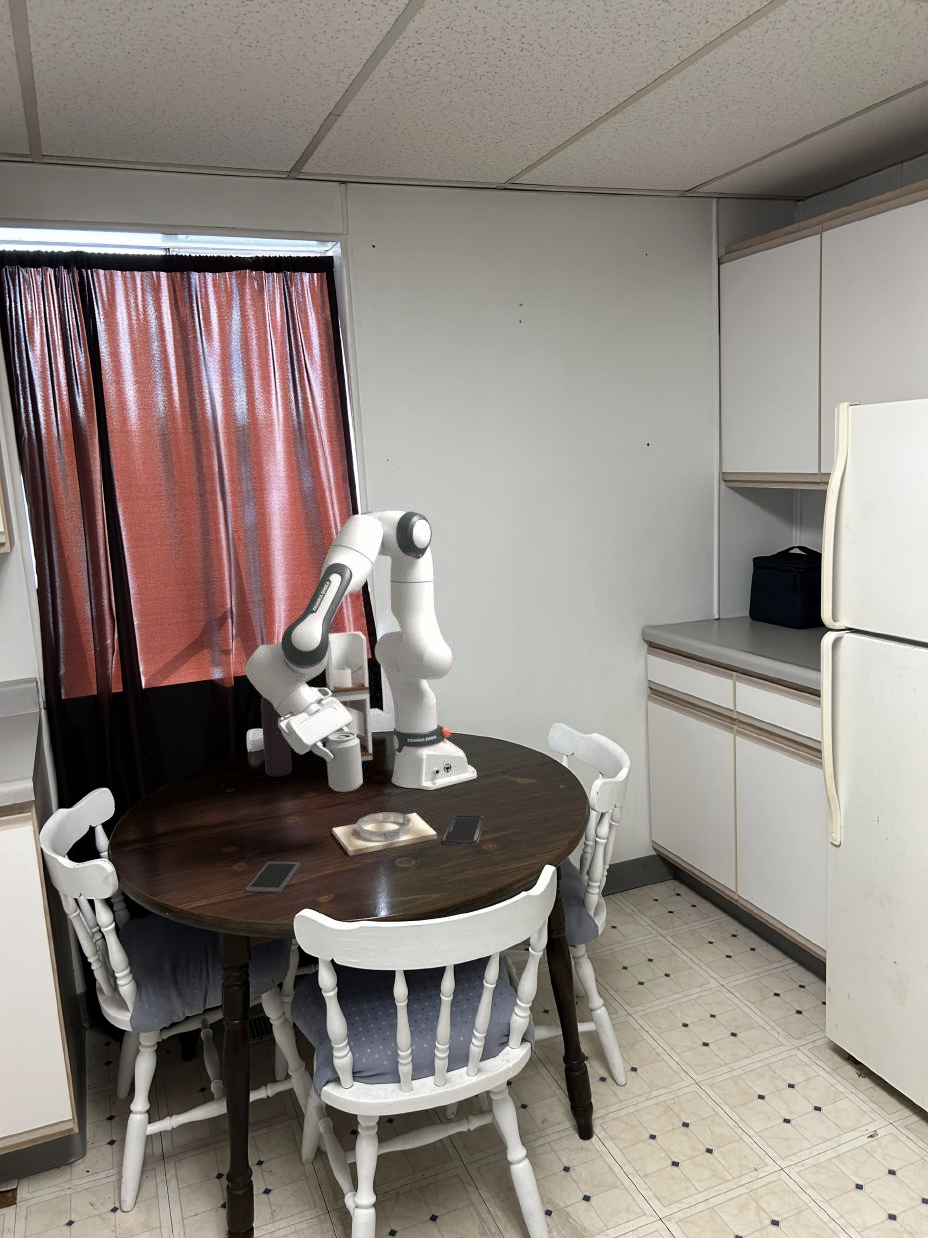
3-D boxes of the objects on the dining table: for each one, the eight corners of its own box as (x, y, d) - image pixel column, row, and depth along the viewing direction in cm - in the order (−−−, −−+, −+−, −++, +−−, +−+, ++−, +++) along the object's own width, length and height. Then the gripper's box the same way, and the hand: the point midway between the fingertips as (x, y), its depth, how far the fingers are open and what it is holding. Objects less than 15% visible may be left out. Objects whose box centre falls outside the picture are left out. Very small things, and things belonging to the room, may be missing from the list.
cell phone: (244, 894, 188) (244, 890, 187) (268, 864, 201) (267, 861, 201) (280, 895, 186) (279, 891, 186) (301, 865, 200) (301, 861, 200)
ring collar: (400, 817, 221) (400, 809, 220) (418, 835, 210) (417, 826, 209) (350, 826, 216) (350, 818, 216) (366, 845, 205) (365, 836, 205)
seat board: (415, 817, 223) (415, 812, 223) (436, 838, 210) (436, 833, 210) (332, 833, 216) (332, 828, 215) (349, 855, 203) (349, 850, 203)
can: (368, 782, 211) (364, 730, 209) (354, 794, 204) (350, 741, 202) (338, 780, 214) (334, 728, 211) (323, 792, 207) (318, 739, 204)
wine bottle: (297, 771, 261) (290, 664, 256) (279, 778, 255) (271, 669, 250) (278, 767, 264) (270, 662, 259) (260, 774, 258) (252, 667, 254)
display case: (330, 752, 277) (323, 634, 271) (367, 748, 279) (360, 631, 273) (335, 763, 266) (327, 641, 260) (372, 759, 268) (365, 638, 262)
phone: (485, 816, 221) (477, 841, 206) (485, 820, 221) (477, 846, 206) (451, 815, 222) (441, 840, 207) (452, 820, 222) (441, 845, 207)
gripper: (281, 711, 199) (326, 759, 197) (331, 686, 217) (372, 729, 215) (266, 730, 201) (309, 777, 199) (316, 703, 220) (356, 747, 218)
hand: (342, 752), depth 207 cm, fingers closed on can, 7 cm apart
